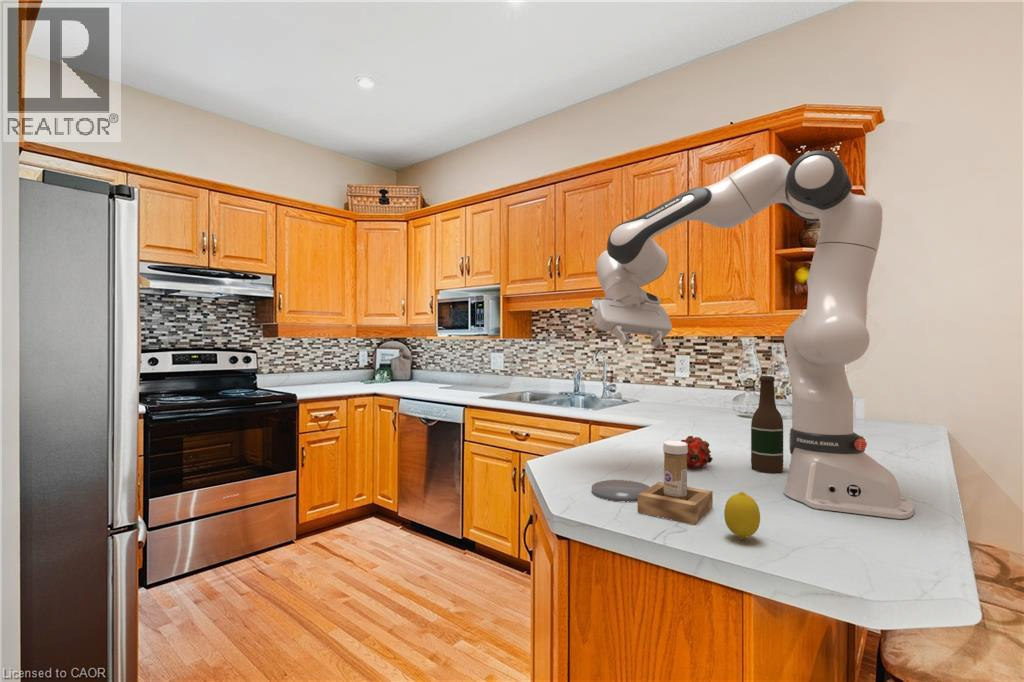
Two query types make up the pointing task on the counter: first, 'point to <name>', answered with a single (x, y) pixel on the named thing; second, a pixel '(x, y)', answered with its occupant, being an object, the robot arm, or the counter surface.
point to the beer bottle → (767, 431)
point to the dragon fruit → (697, 452)
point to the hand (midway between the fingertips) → (642, 345)
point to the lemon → (742, 515)
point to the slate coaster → (618, 490)
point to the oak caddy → (675, 504)
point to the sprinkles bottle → (675, 469)
